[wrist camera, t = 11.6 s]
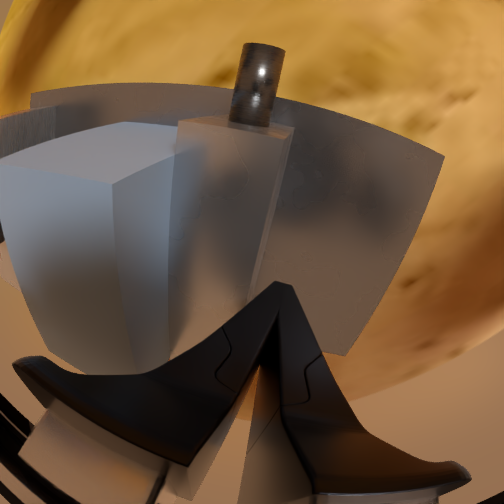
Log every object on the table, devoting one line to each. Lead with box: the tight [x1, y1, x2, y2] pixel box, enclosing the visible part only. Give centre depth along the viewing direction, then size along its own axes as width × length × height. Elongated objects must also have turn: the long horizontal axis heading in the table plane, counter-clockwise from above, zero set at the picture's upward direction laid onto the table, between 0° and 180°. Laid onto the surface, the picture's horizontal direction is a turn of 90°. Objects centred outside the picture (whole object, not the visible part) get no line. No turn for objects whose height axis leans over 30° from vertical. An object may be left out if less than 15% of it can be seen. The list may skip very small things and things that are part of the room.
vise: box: [0, 83, 445, 356], centre depth 11 cm, size 22×12×6 cm, turn 79°
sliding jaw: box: [168, 43, 295, 360], centre depth 10 cm, size 2×15×4 cm, turn 169°
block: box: [0, 122, 178, 375], centre depth 9 cm, size 5×8×7 cm, turn 169°
